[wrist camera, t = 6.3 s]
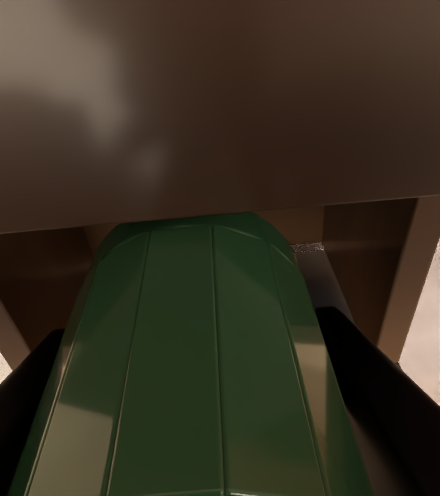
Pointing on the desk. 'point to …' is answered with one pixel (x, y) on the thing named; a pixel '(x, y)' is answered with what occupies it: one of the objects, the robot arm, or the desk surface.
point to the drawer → (295, 232)
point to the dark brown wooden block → (213, 107)
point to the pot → (192, 373)
